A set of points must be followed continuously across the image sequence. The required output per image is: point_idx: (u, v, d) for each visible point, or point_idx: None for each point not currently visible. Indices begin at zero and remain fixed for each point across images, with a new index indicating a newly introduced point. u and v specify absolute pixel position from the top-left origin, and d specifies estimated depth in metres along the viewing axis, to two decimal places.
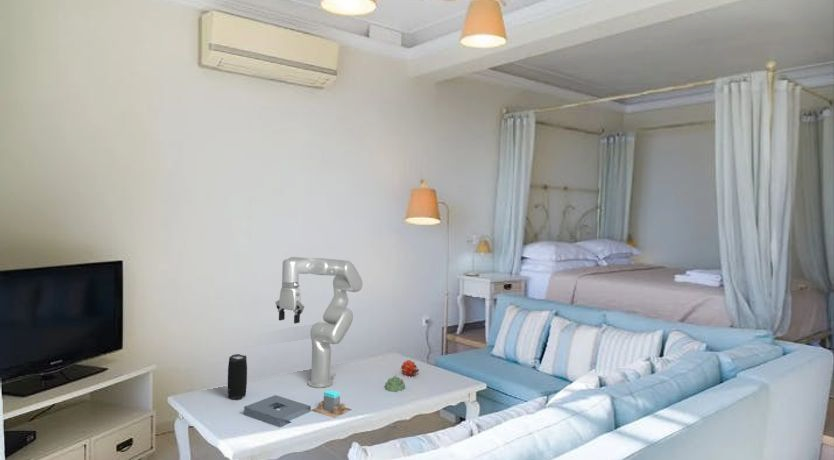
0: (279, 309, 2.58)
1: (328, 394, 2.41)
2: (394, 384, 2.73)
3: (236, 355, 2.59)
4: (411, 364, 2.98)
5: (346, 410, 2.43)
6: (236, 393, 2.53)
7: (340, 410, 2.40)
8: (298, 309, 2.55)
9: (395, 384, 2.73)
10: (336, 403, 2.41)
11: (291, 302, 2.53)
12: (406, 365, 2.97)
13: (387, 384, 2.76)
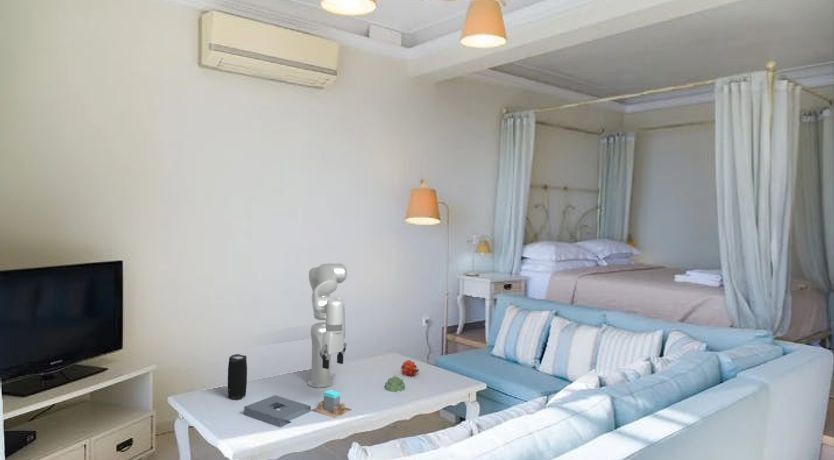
0: (327, 357, 2.37)
1: (328, 394, 2.41)
2: (394, 384, 2.73)
3: (236, 355, 2.59)
4: (411, 364, 2.98)
5: (346, 410, 2.43)
6: (236, 393, 2.53)
7: (340, 410, 2.40)
8: None
9: (395, 384, 2.73)
10: (336, 403, 2.41)
11: (342, 343, 2.43)
12: (406, 365, 2.97)
13: (387, 384, 2.76)
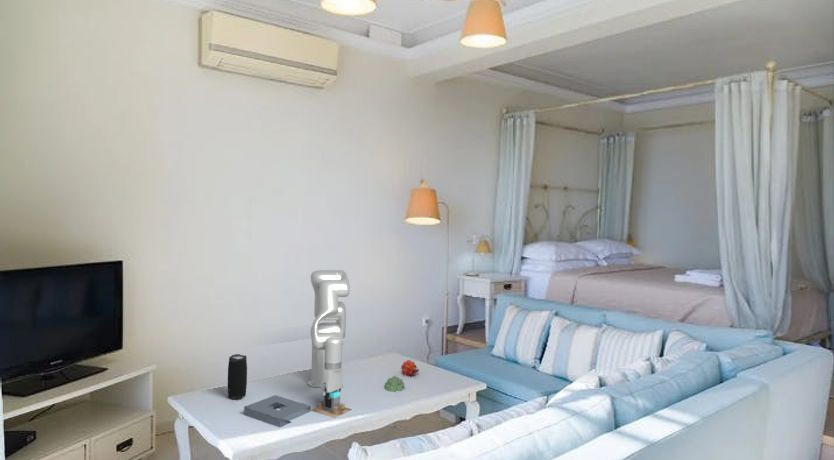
0: (329, 396, 2.40)
1: (328, 394, 2.41)
2: (394, 384, 2.73)
3: (236, 355, 2.59)
4: (411, 364, 2.98)
5: (346, 410, 2.43)
6: (236, 393, 2.53)
7: (340, 410, 2.40)
8: None
9: (395, 384, 2.73)
10: (336, 403, 2.41)
11: (341, 380, 2.44)
12: (406, 365, 2.97)
13: (387, 384, 2.76)
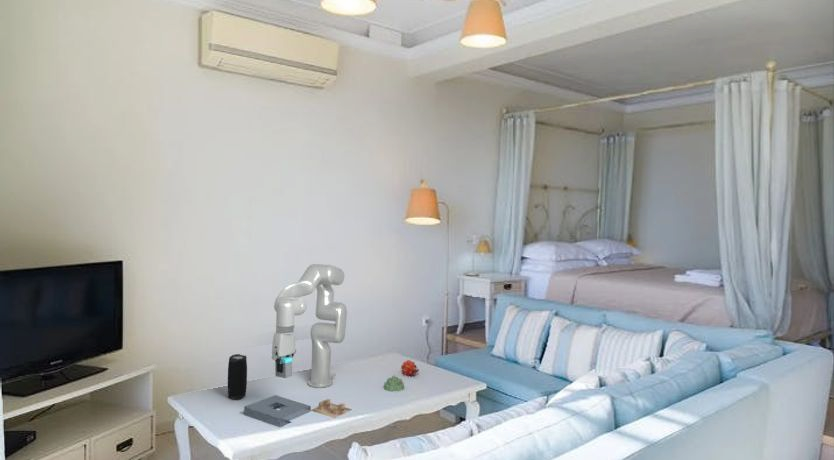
0: (281, 360, 2.34)
1: None
2: (393, 384, 2.73)
3: (236, 355, 2.59)
4: (411, 364, 2.98)
5: (346, 410, 2.43)
6: (236, 393, 2.53)
7: (340, 410, 2.40)
8: None
9: (394, 384, 2.73)
10: (288, 369, 2.36)
11: (293, 345, 2.39)
12: (406, 365, 2.97)
13: (386, 384, 2.76)
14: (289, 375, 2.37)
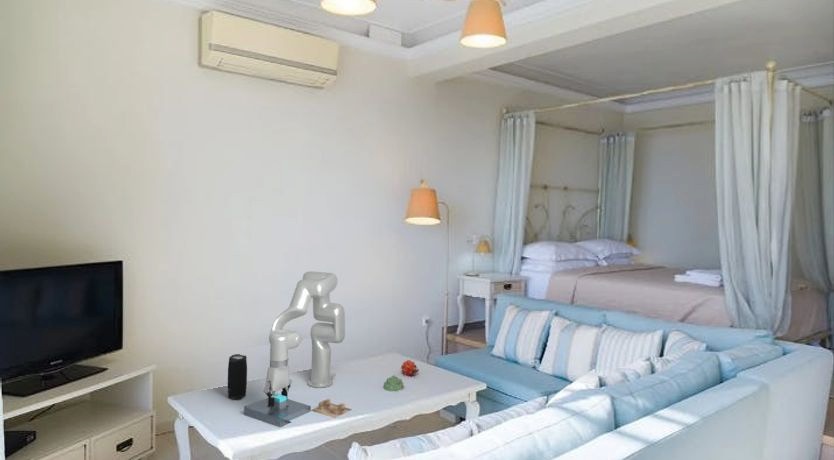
0: (272, 394, 2.34)
1: None
2: (393, 384, 2.73)
3: (236, 355, 2.59)
4: (411, 364, 2.98)
5: (346, 410, 2.43)
6: (236, 393, 2.53)
7: (340, 410, 2.40)
8: None
9: (394, 384, 2.73)
10: (282, 408, 2.37)
11: (287, 378, 2.39)
12: (406, 365, 2.97)
13: (386, 384, 2.76)
14: None
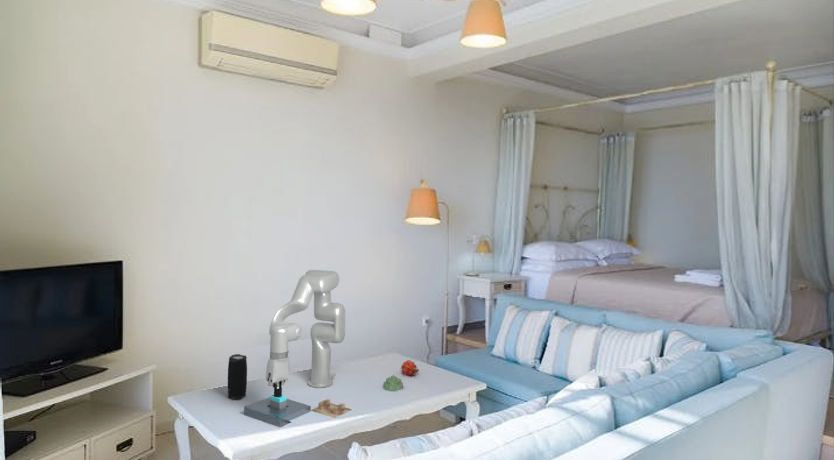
0: (277, 385, 2.36)
1: (274, 398, 2.37)
2: (392, 383, 2.74)
3: (236, 355, 2.59)
4: (411, 364, 2.98)
5: (346, 410, 2.43)
6: (236, 393, 2.53)
7: (340, 410, 2.40)
8: (280, 381, 2.40)
9: (393, 383, 2.74)
10: (282, 408, 2.37)
11: (287, 370, 2.39)
12: (406, 365, 2.97)
13: (385, 383, 2.76)
14: None
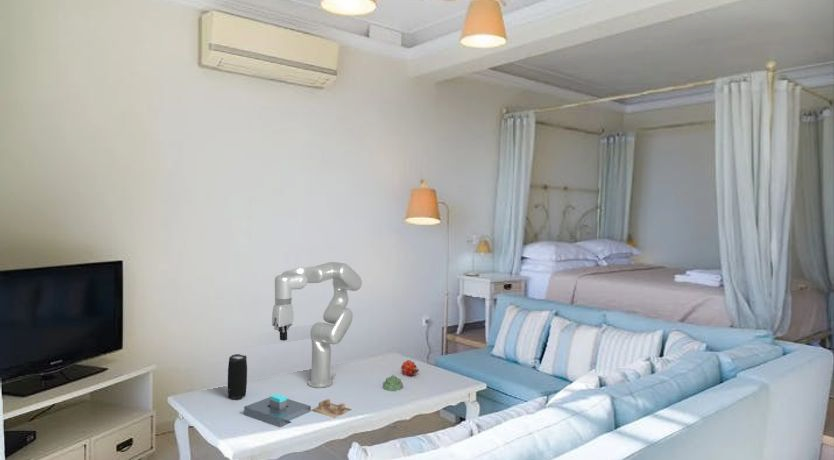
0: (283, 329, 2.54)
1: (274, 398, 2.37)
2: (392, 383, 2.74)
3: (236, 355, 2.59)
4: (411, 364, 2.98)
5: (346, 410, 2.43)
6: (236, 393, 2.53)
7: (340, 410, 2.40)
8: (285, 325, 2.58)
9: (393, 383, 2.74)
10: (282, 408, 2.37)
11: (291, 316, 2.57)
12: (406, 365, 2.97)
13: (385, 383, 2.77)
14: None
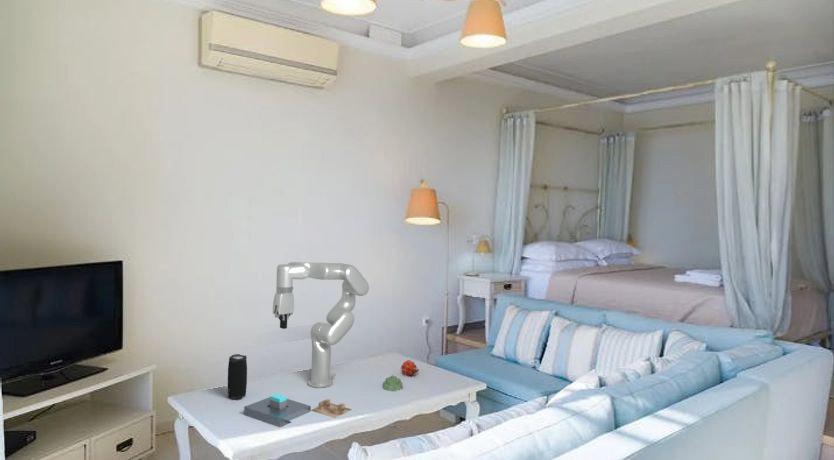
0: (283, 318, 2.60)
1: (274, 398, 2.37)
2: (392, 383, 2.74)
3: (236, 355, 2.59)
4: (411, 364, 2.98)
5: (346, 410, 2.43)
6: (236, 393, 2.53)
7: (340, 410, 2.40)
8: (285, 314, 2.64)
9: (393, 383, 2.74)
10: (282, 408, 2.37)
11: (292, 305, 2.63)
12: (406, 365, 2.97)
13: (385, 383, 2.77)
14: None
